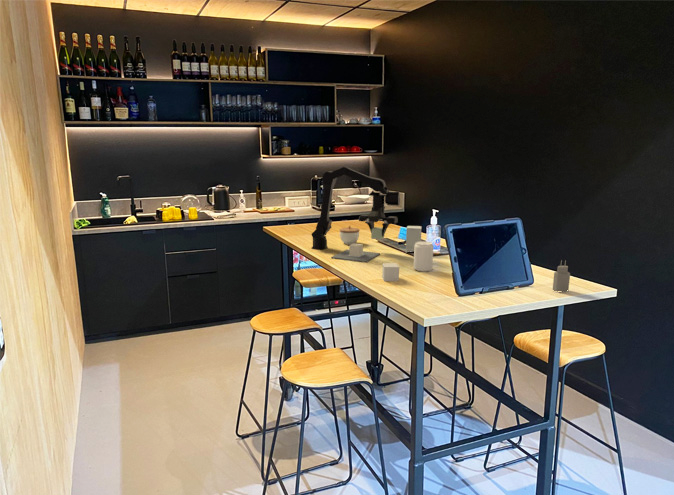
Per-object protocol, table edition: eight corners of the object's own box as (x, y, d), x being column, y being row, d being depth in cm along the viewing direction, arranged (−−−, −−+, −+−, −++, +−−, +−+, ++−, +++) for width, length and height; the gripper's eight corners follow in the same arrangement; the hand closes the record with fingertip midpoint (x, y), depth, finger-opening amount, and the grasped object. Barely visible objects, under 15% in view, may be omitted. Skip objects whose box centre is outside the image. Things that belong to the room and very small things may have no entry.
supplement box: (420, 253, 250) (421, 228, 247) (405, 252, 251) (406, 228, 249) (420, 250, 257) (421, 225, 254) (406, 249, 258) (407, 225, 256)
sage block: (371, 238, 250) (371, 228, 249) (374, 236, 255) (375, 227, 253) (380, 239, 248) (380, 229, 247) (384, 237, 252) (384, 227, 251)
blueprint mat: (331, 258, 240) (331, 256, 240) (346, 250, 256) (346, 249, 255) (366, 262, 232) (366, 260, 232) (380, 254, 248) (380, 252, 248)
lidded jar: (353, 240, 280) (353, 223, 278) (362, 244, 271) (363, 227, 269) (336, 242, 276) (336, 225, 273) (344, 246, 266) (345, 228, 264)
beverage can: (420, 273, 215) (422, 245, 212) (409, 268, 222) (410, 242, 219) (436, 270, 218) (437, 243, 216) (424, 266, 226) (425, 240, 223)
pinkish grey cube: (398, 281, 203) (399, 266, 202) (383, 281, 203) (384, 267, 201) (396, 277, 209) (396, 263, 208) (382, 277, 209) (382, 263, 207)
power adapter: (569, 291, 190) (572, 260, 188) (557, 292, 189) (560, 261, 186) (563, 289, 193) (566, 258, 191) (551, 290, 192) (554, 259, 189)
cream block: (349, 255, 243) (349, 245, 242) (353, 253, 247) (353, 243, 246) (358, 256, 241) (358, 246, 239) (362, 254, 245) (362, 244, 244)
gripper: (354, 205, 244) (354, 237, 248) (391, 208, 237) (390, 240, 240) (363, 203, 254) (362, 233, 258) (398, 205, 247) (397, 236, 250)
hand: (377, 236), depth 251 cm, fingers closed on sage block, 5 cm apart
